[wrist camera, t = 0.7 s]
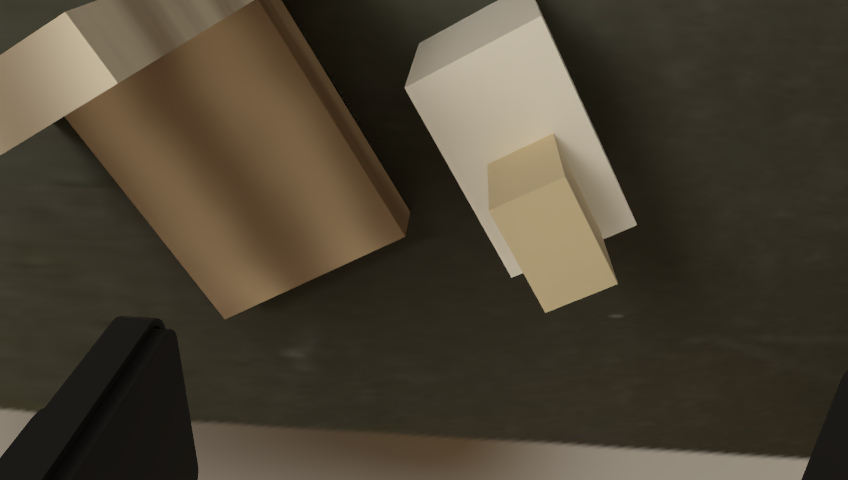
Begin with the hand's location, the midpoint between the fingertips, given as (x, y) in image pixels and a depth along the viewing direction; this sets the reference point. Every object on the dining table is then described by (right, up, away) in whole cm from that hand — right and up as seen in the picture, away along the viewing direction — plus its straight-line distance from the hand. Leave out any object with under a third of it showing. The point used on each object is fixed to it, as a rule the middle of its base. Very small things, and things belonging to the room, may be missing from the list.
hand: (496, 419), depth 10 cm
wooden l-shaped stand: (-11, +8, +28) cm, 31 cm away
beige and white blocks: (+4, +10, +26) cm, 28 cm away
